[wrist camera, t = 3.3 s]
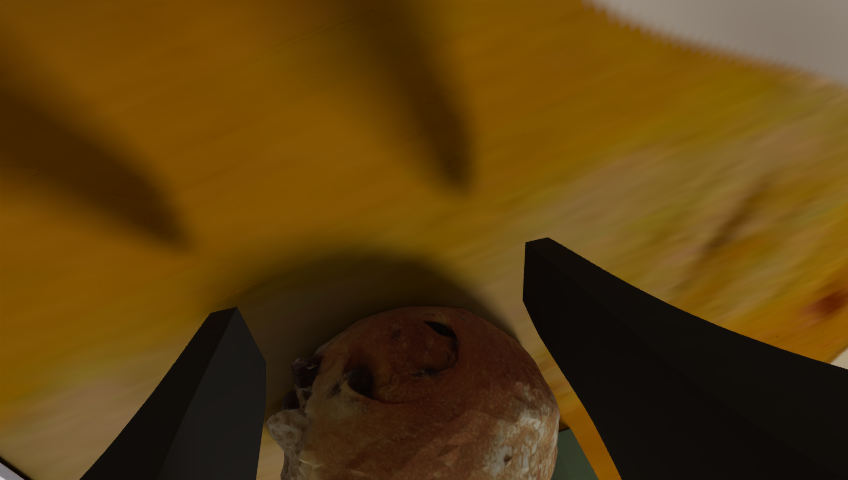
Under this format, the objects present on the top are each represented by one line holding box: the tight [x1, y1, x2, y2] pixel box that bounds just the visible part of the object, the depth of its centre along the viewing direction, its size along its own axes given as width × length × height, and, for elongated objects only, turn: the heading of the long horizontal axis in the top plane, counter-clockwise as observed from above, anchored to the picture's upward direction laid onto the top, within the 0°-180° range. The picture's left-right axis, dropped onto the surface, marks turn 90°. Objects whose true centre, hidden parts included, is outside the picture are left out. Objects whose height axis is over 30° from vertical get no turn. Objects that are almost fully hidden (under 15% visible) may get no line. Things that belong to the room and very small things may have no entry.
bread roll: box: [266, 306, 560, 480], centre depth 15 cm, size 10×10×8 cm
